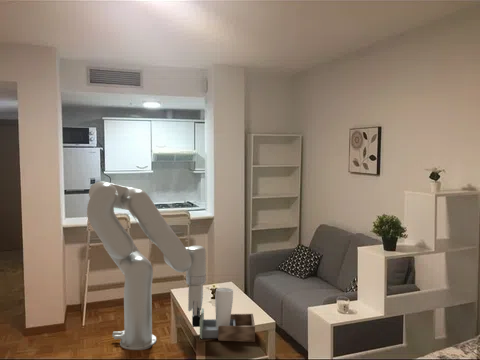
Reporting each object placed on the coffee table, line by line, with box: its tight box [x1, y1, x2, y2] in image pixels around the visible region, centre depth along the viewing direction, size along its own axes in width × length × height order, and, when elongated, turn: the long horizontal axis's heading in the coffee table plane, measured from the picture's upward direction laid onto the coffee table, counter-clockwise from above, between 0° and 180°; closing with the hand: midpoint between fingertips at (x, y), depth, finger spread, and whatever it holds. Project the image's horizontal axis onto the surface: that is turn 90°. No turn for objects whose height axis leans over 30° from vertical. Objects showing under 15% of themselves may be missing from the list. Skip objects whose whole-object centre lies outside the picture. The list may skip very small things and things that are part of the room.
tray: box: [199, 307, 235, 340], centre depth 153 cm, size 13×12×7 cm
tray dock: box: [217, 313, 256, 343], centre depth 154 cm, size 14×12×6 cm
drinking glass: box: [214, 287, 234, 329], centre depth 154 cm, size 7×7×15 cm
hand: (196, 325), depth 153 cm, fingers closed
